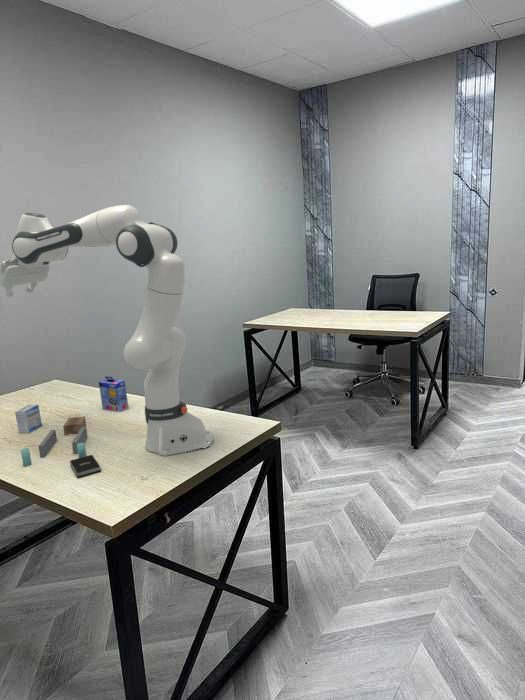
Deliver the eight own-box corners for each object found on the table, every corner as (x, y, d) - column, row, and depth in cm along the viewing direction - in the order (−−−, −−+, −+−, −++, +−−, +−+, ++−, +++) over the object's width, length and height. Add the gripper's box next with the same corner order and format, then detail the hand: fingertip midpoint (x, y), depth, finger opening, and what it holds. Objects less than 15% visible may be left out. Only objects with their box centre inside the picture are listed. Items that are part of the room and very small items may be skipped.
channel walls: (87, 436, 172) (86, 426, 171) (78, 453, 159) (76, 442, 158) (52, 440, 171) (51, 429, 170) (40, 457, 157) (38, 446, 157)
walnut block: (86, 426, 184) (84, 416, 183) (81, 434, 176) (80, 423, 175) (70, 427, 183) (68, 417, 182) (64, 436, 175) (63, 425, 174)
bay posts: (87, 456, 156) (85, 442, 155) (85, 459, 154) (83, 445, 153) (24, 463, 154) (22, 448, 153) (22, 466, 151) (19, 451, 150)
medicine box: (28, 433, 179) (25, 411, 177) (18, 433, 180) (14, 411, 178) (42, 425, 186) (38, 404, 185) (32, 425, 187) (28, 404, 185)
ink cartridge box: (101, 409, 201) (97, 376, 198) (111, 405, 206) (106, 372, 202) (119, 412, 196) (115, 378, 193) (129, 407, 201) (124, 374, 198)
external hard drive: (93, 460, 154) (92, 454, 154) (101, 473, 145) (100, 467, 145) (70, 466, 151) (69, 460, 150) (77, 480, 141) (76, 473, 141)
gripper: (9, 264, 157) (2, 302, 162) (54, 259, 175) (47, 293, 181) (-6, 256, 158) (-12, 294, 163) (40, 252, 177) (33, 286, 182)
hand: (19, 293), depth 172 cm, fingers open, 8 cm apart
